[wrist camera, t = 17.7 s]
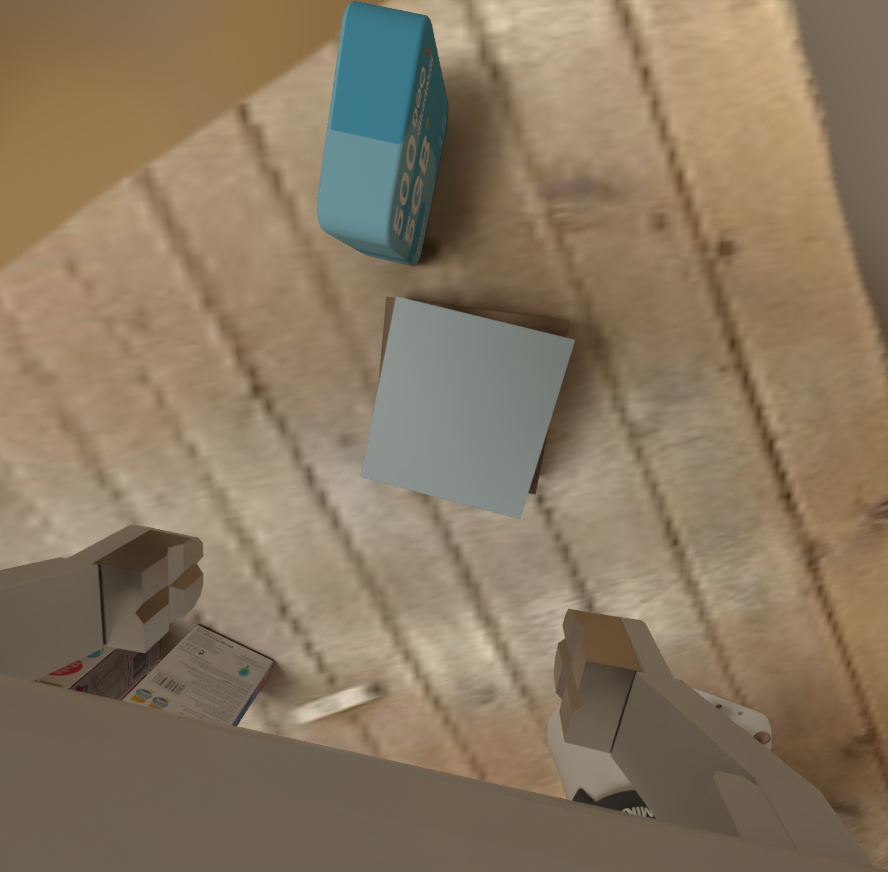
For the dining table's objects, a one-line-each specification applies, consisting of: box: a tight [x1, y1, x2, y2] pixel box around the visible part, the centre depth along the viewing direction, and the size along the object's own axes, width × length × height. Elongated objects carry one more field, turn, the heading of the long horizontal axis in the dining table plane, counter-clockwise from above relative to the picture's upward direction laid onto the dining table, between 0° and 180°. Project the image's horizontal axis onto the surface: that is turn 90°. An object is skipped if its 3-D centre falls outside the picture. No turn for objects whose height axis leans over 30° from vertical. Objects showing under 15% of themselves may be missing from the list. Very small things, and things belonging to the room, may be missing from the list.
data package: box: [317, 1, 448, 266], centre depth 30 cm, size 12×4×12 cm, turn 167°
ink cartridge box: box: [122, 625, 274, 726], centre depth 43 cm, size 10×6×14 cm, turn 65°
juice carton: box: [35, 640, 160, 700], centre depth 40 cm, size 7×7×22 cm
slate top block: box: [361, 296, 575, 519], centre depth 33 cm, size 12×13×5 cm
